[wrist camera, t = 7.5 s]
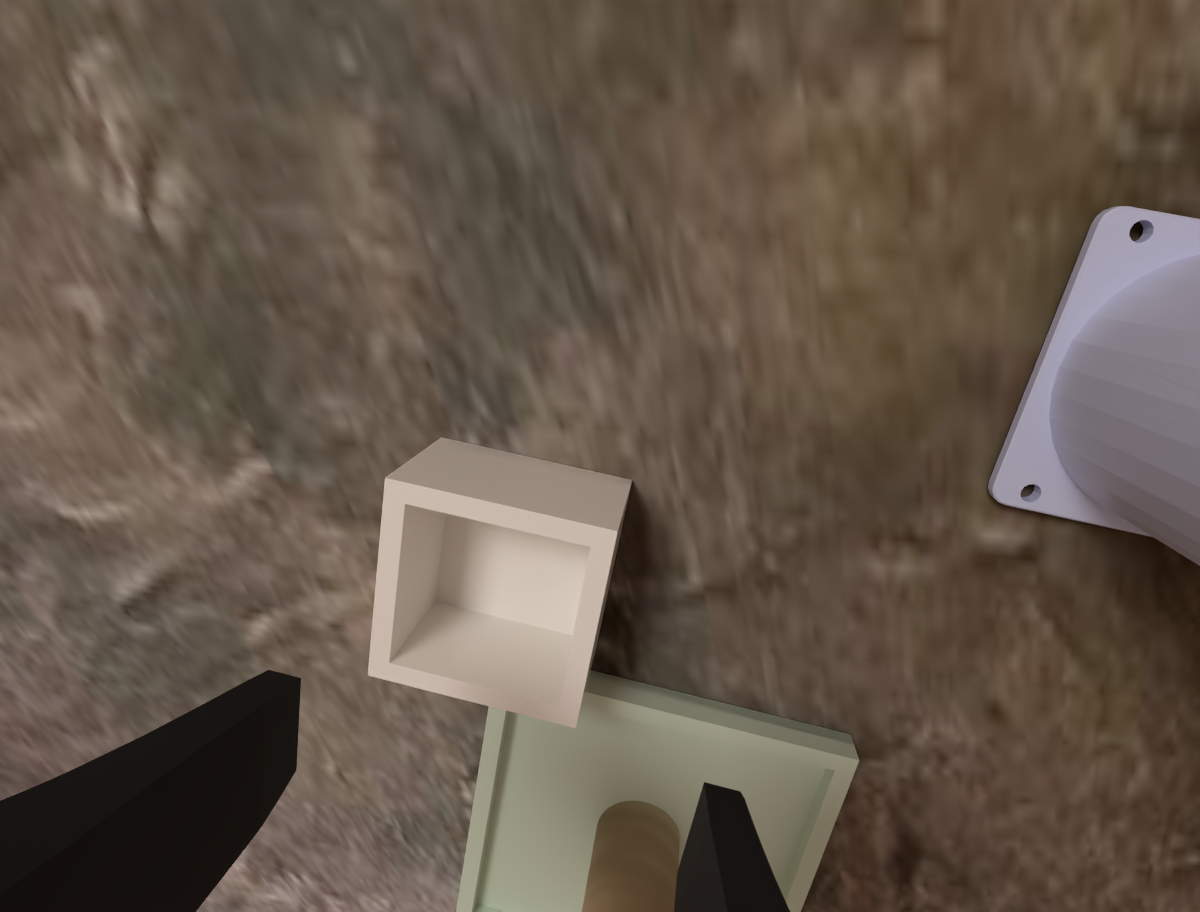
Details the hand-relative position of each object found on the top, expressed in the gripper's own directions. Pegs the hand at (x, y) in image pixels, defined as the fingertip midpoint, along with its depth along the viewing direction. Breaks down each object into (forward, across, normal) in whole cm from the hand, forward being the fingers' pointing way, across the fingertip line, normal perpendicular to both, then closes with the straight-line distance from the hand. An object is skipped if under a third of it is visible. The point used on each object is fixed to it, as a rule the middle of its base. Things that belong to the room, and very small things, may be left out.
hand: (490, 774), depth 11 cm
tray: (+10, -4, +11) cm, 16 cm away
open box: (+10, +2, +1) cm, 11 cm away
